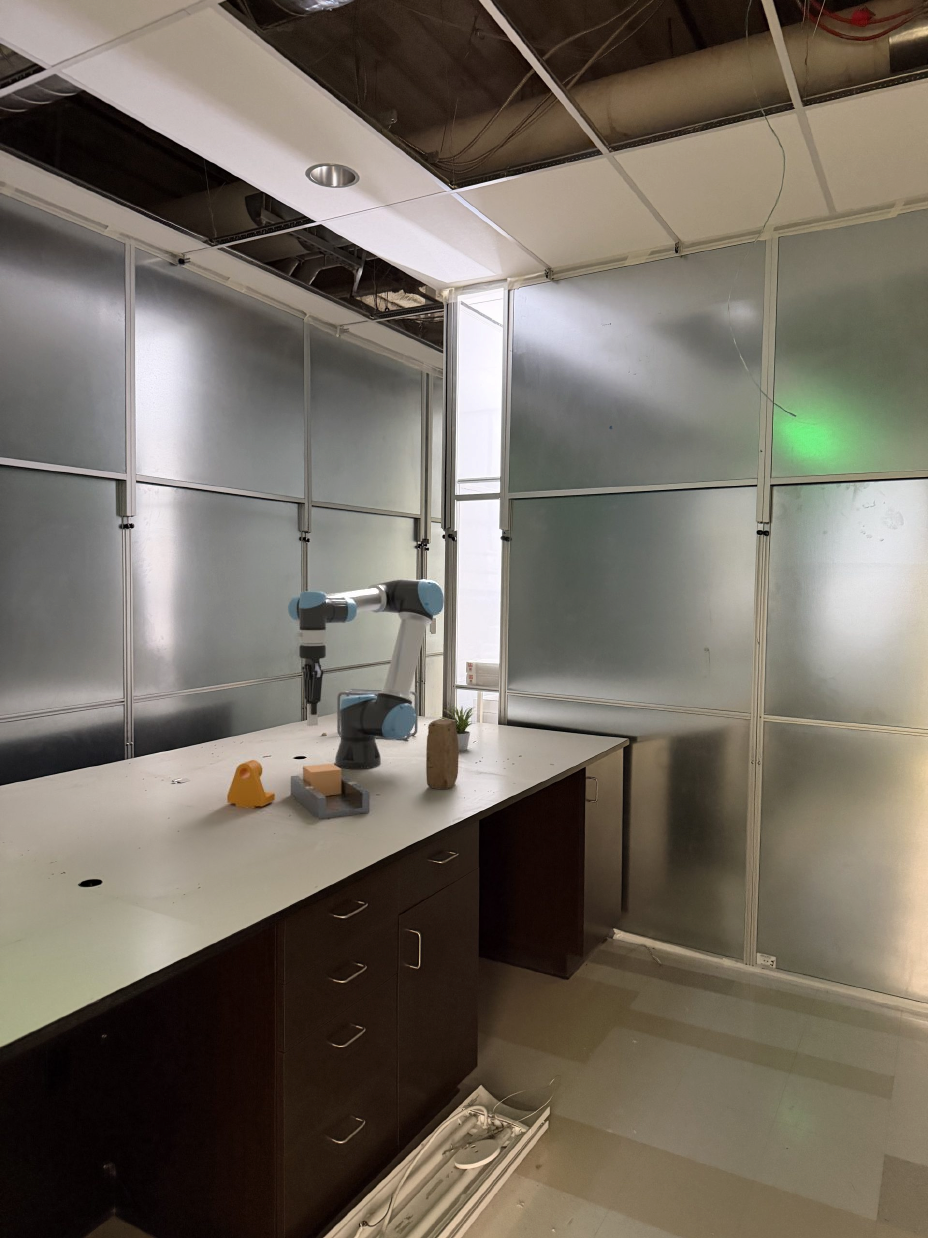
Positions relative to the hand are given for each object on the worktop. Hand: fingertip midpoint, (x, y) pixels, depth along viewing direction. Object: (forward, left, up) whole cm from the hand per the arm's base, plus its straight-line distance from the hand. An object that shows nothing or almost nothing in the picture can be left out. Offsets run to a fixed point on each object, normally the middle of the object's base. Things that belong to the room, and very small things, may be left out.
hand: (312, 725), depth 239 cm
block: (+11, +37, -20) cm, 43 cm away
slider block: (+9, 0, -18) cm, 20 cm away
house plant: (-35, +67, -20) cm, 78 cm away
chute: (+15, 0, -19) cm, 25 cm away
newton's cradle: (-70, +48, -20) cm, 87 cm away
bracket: (+6, -19, -20) cm, 28 cm away
